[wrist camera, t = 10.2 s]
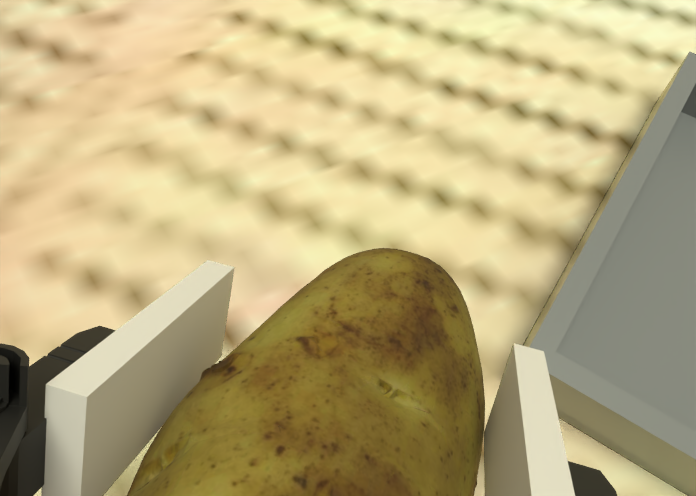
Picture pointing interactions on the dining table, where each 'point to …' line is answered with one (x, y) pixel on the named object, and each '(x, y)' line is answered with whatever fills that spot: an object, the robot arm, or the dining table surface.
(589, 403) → the tray
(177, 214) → the dining table surface
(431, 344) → the potato
